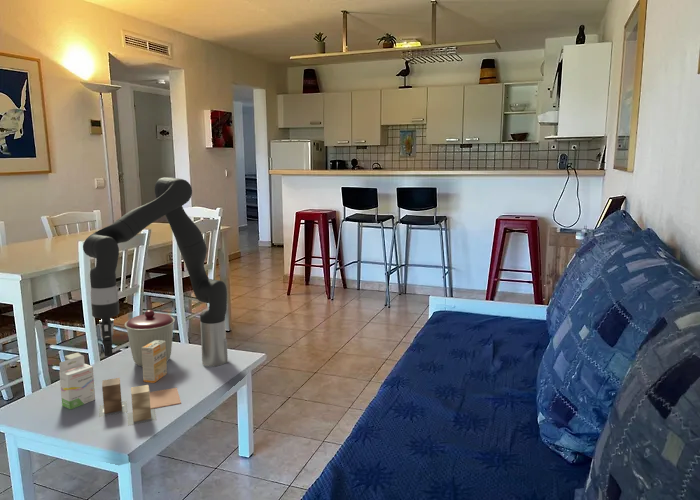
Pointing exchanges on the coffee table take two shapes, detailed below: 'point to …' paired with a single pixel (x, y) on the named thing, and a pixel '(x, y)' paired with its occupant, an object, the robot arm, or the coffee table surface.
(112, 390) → the walnut block
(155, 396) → the coaster
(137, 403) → the oak block
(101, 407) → the code tile
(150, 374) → the supplement box
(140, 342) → the canister
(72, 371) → the ink box
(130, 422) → the code tile
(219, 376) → the coffee table surface
